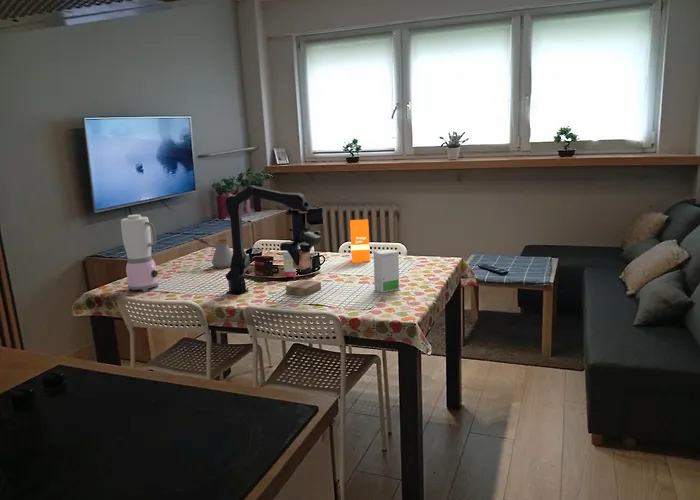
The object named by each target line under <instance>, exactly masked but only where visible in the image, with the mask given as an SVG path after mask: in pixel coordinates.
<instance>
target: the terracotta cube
mask: <svg viewBox="0 0 700 500" xmlns="http://www.w3.org/2000/svg"><path fill="white" fill-rule="evenodd" d="M311 267H312V265H311V251H310V252H303V251H300V252H299V265H298V266H297V265H296V264H295V262H294V260H293V268H294V269H300V270H306V269H308V268H311Z"/></svg>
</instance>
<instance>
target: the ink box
mask: <svg viewBox="0 0 700 500" xmlns="http://www.w3.org/2000/svg"><path fill="white" fill-rule="evenodd" d="M282 260H283V273H284V277H285V276H286V277H293V278H292V279H295V278H296V277H297V276H296V274H297V272H296V271H297V270H296V269H294V268H293V259H292V257H291V255H290V254H289V253H288V251H282ZM295 276H296V277H295Z"/></svg>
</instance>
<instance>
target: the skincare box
mask: <svg viewBox="0 0 700 500" xmlns="http://www.w3.org/2000/svg"><path fill="white" fill-rule="evenodd" d="M372 253H373V275H374V276H373V277H374V290H375V291H377V292H379V291H380V292H379V293H382V294H384V293H389V292H388V291H390V292H394V291H393V290H395V291H399V290H400V271H399V270H400V267H399V263H400V262H399V261H400V260H399V251H397V250H393V249H385V250H375V251H373V252H372ZM398 289H399V290H398Z"/></svg>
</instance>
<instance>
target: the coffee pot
mask: <svg viewBox="0 0 700 500" xmlns="http://www.w3.org/2000/svg"><path fill="white" fill-rule="evenodd" d="M194 240H196V241H199V242H200V243H203V244H206V245H209V246H211V247H213V248H215V249H214V250H215V251H214V253H213V255H212V256H213V257H212V259H211V260H212V261H211V264H212V265H213V266H214V267H217V268H216V269H227V268H226V267H228V268H230V266H231V260H232V256H233V251H232V250H231V249H230V247H229V245H228V244H229V243H228V242H229V240H228V239H218V240H215V241H214V243H215V244H216V245H215V244H212V243H209V242H208V241H206V240H204V239H200V238H198V237H195V236H192V237H191V241H194Z"/></svg>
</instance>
